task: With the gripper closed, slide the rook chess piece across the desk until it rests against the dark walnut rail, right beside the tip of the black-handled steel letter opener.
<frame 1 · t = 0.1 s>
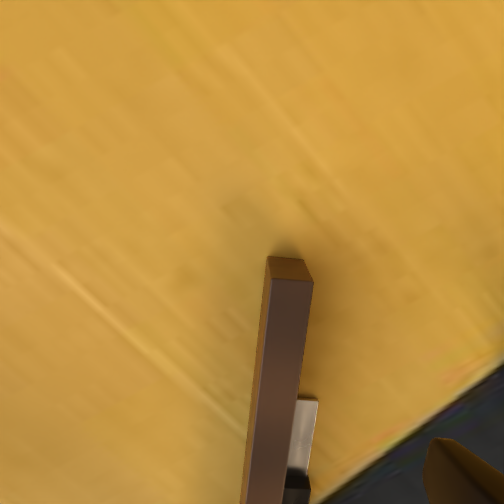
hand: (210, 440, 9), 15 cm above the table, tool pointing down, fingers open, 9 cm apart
walnut rail: (265, 416, 26), on the table
letter opener: (294, 473, 27), on the table
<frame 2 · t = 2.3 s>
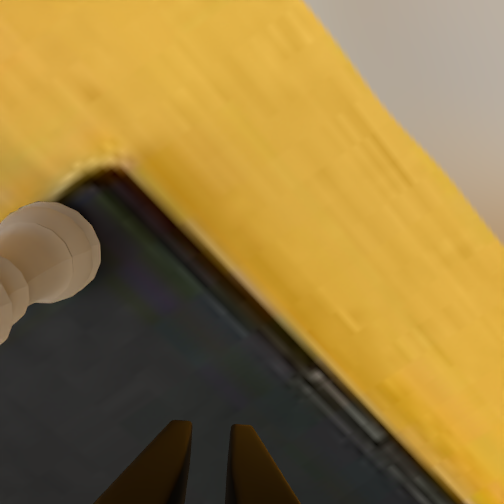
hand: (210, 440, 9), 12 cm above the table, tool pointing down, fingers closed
rook chess piece: (57, 246, 20), on the table
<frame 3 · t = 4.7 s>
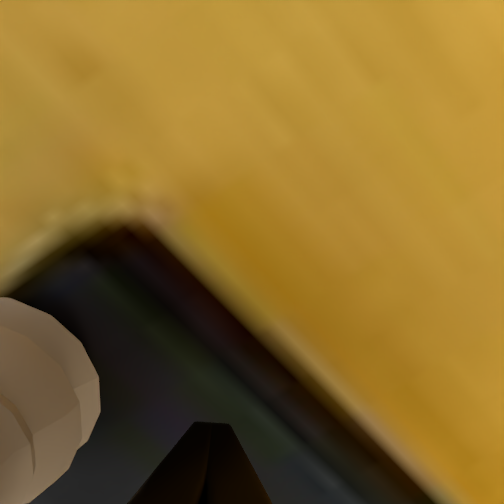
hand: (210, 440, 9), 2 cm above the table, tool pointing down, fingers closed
rook chess piece: (16, 372, 10), on the table, touching gripper
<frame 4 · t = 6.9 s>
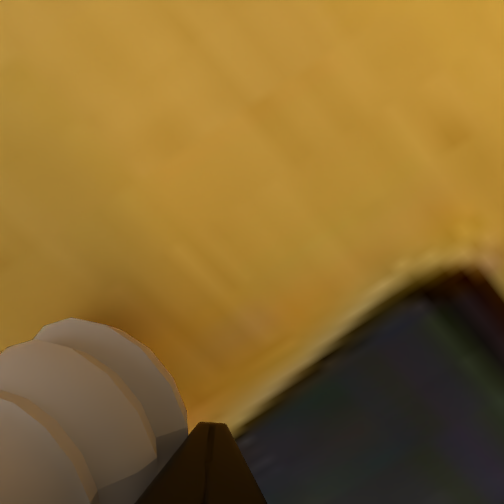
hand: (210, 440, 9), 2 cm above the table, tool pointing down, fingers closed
rook chess piece: (120, 399, 10), point 1 cm above the table, touching gripper
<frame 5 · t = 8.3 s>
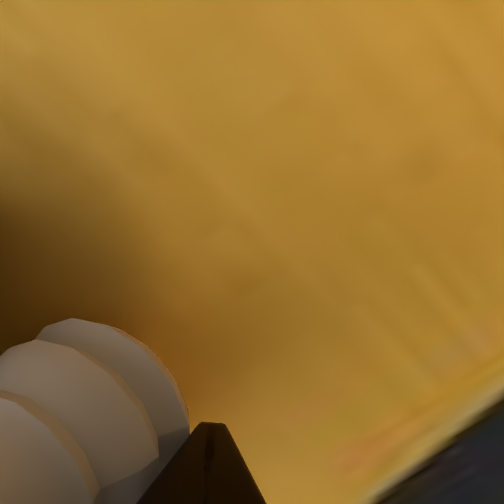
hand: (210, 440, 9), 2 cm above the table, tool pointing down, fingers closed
rook chess piece: (121, 399, 10), point 1 cm above the table, touching gripper
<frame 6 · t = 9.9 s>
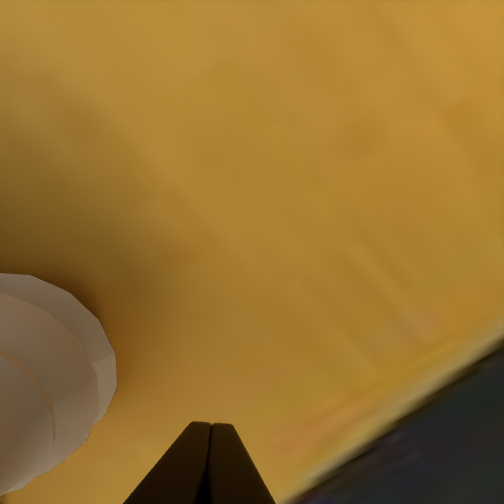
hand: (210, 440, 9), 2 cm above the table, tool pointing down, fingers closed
rook chess piece: (36, 349, 10), on the table, touching gripper
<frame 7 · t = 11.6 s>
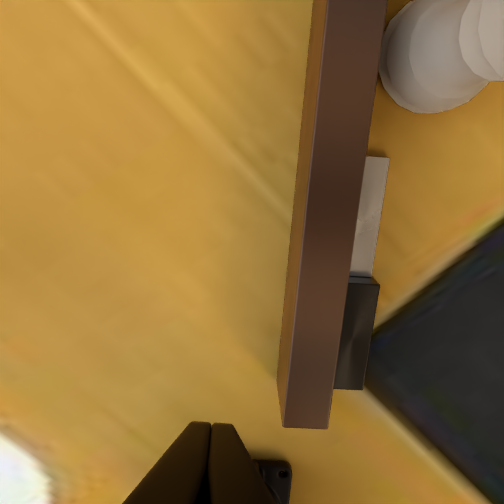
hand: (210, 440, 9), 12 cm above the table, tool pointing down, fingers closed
walnut rail: (317, 187, 19), on the table
letter opener: (354, 274, 20), on the table
rook chess piece: (426, 58, 18), on the table
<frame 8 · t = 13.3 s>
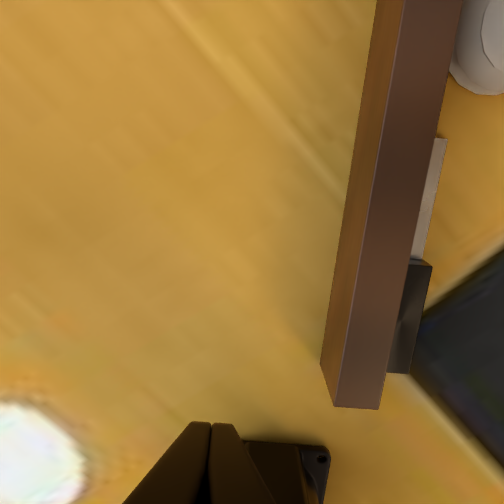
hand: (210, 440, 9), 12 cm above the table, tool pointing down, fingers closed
walnut rail: (373, 166, 19), on the table
letter opener: (404, 256, 20), on the table
rook chess piece: (488, 40, 18), on the table
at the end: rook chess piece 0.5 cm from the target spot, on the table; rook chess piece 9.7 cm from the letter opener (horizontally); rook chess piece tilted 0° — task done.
